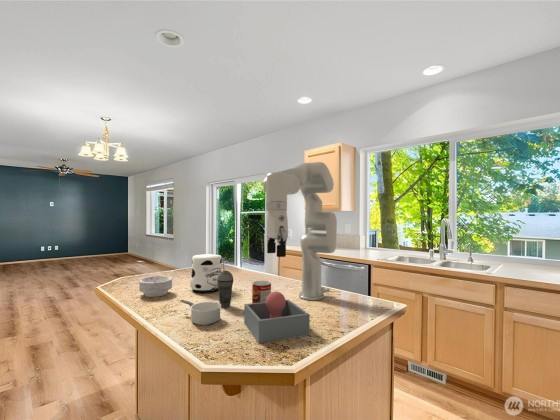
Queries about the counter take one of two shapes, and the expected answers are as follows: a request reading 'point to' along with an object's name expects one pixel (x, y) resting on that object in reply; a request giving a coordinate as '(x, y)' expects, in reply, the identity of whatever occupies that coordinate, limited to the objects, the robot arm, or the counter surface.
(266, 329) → the bin
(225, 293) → the beverage cup
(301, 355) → the counter surface
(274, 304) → the pink rounded bulb shape
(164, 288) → the paper bowls
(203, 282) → the milk container
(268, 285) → the canned food
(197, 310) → the saucepan
